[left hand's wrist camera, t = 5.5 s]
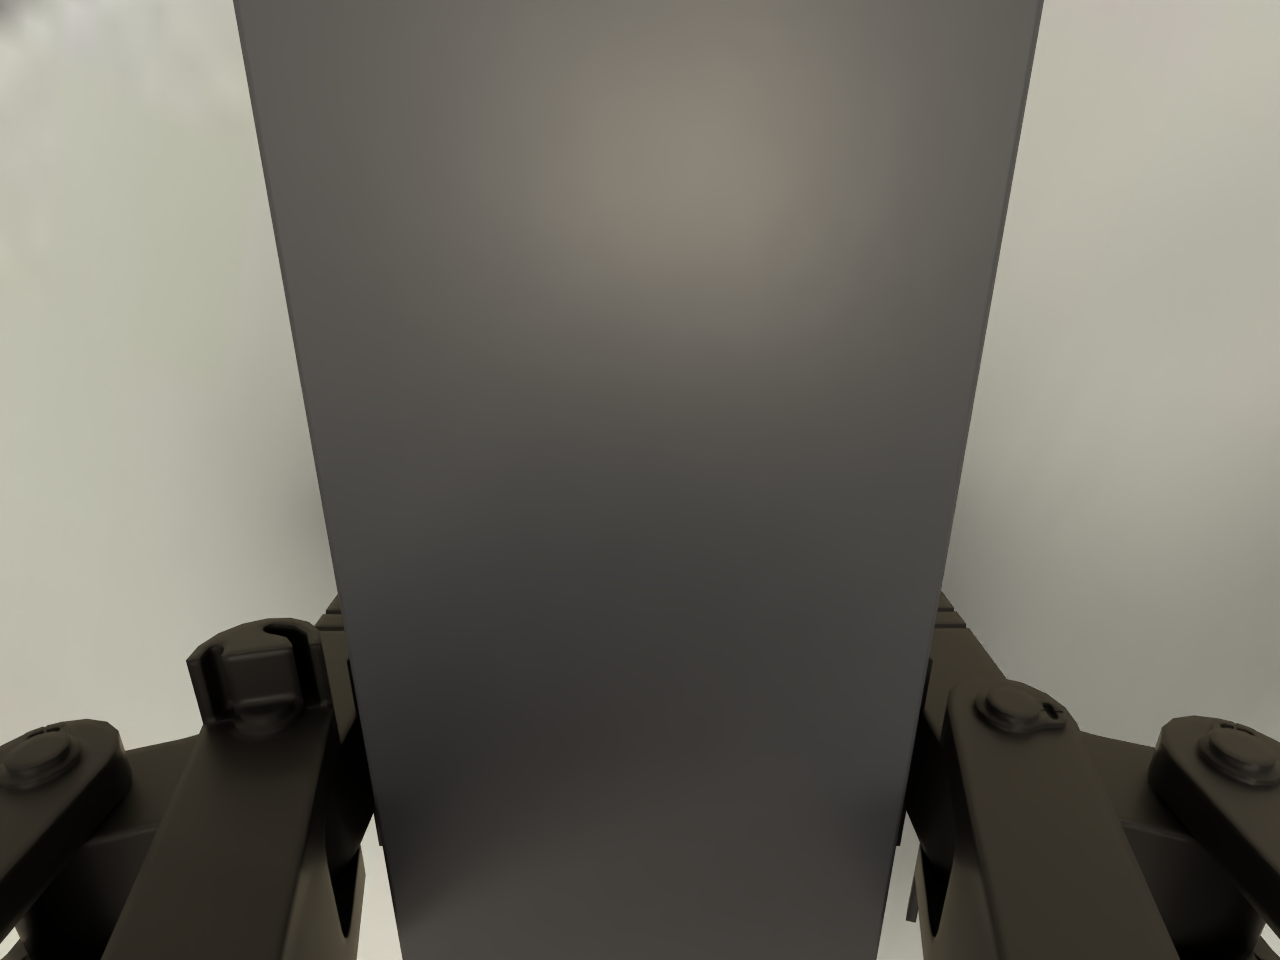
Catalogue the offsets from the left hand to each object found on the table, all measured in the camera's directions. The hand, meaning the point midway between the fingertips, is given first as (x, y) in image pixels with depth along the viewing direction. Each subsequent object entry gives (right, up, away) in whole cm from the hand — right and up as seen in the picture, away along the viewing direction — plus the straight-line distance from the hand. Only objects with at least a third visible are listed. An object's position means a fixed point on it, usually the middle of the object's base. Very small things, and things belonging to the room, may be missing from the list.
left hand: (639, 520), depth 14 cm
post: (0, +18, -7) cm, 19 cm away
